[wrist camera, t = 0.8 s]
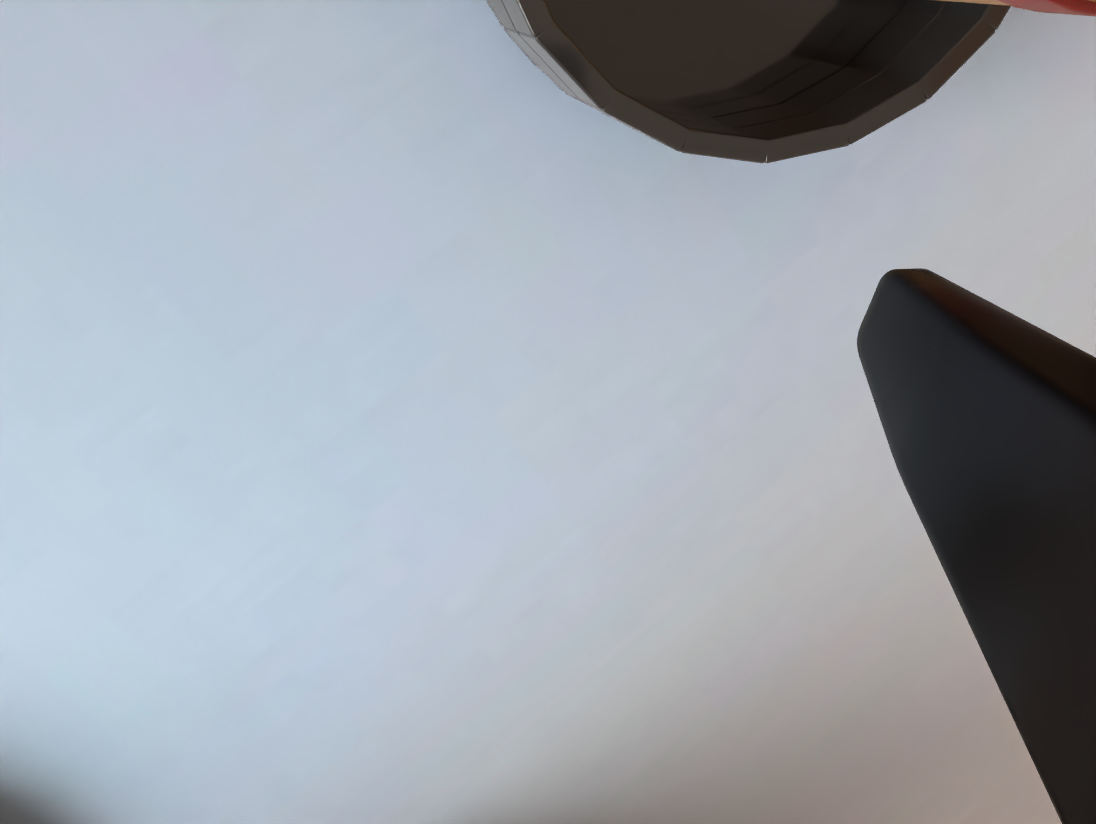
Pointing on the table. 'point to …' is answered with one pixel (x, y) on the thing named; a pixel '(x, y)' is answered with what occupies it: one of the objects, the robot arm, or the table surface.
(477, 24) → the table surface
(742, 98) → the pan
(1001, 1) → the cracker tube
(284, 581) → the table surface
